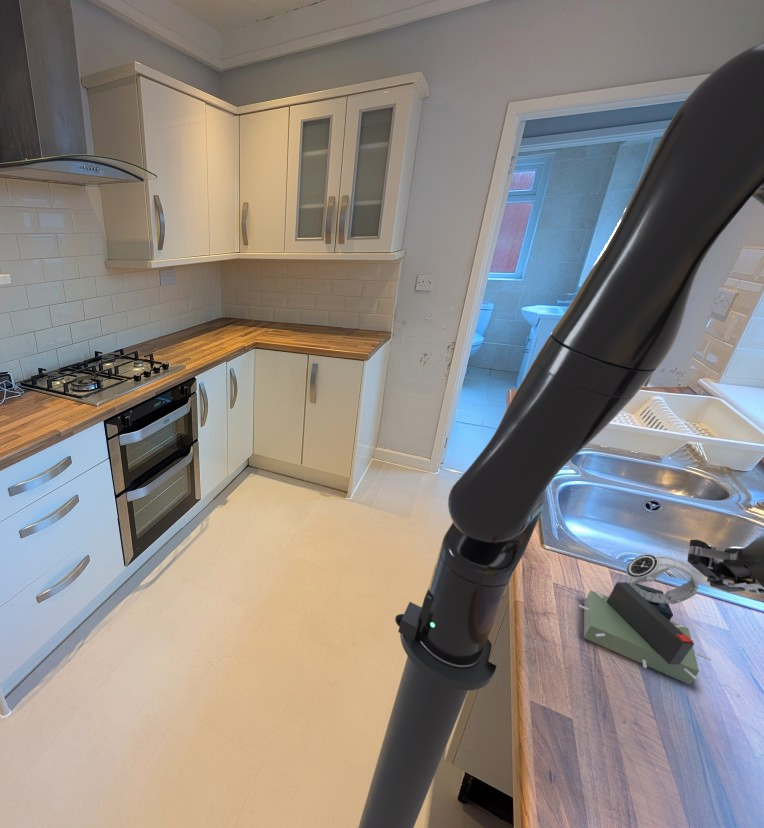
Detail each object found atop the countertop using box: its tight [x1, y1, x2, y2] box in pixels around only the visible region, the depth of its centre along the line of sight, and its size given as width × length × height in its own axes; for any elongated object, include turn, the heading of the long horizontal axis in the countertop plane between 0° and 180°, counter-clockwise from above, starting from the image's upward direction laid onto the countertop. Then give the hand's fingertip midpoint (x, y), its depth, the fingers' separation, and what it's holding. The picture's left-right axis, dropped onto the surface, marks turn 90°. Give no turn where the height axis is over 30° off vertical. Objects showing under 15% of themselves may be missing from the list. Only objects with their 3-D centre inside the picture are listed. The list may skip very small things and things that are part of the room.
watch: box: [626, 554, 699, 621], centre depth 71 cm, size 6×8×11 cm
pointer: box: [607, 581, 695, 664], centre depth 65 cm, size 11×2×5 cm, turn 179°
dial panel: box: [577, 589, 712, 685], centre depth 66 cm, size 15×15×3 cm
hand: (718, 580), depth 51 cm, fingers closed
